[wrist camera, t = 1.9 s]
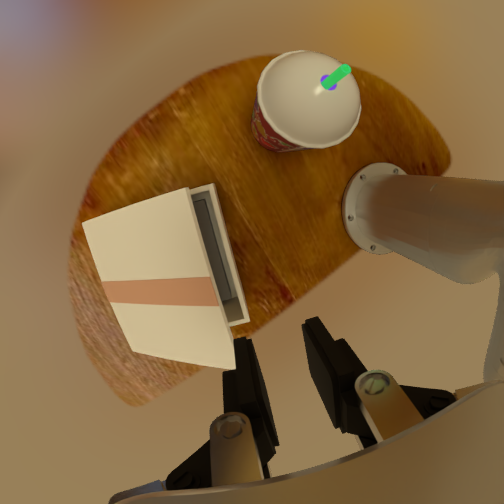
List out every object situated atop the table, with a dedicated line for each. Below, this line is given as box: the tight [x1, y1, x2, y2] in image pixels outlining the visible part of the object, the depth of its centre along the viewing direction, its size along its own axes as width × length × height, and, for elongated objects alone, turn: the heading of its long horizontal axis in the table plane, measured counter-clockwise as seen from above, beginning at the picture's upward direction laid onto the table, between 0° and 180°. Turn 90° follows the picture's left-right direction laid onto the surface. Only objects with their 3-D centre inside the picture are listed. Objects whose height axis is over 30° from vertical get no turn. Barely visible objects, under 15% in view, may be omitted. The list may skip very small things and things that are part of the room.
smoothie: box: [251, 50, 361, 152], centre depth 22 cm, size 8×8×20 cm
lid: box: [82, 187, 236, 370], centre depth 24 cm, size 14×16×1 cm
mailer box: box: [189, 183, 250, 327], centre depth 31 cm, size 14×15×7 cm
